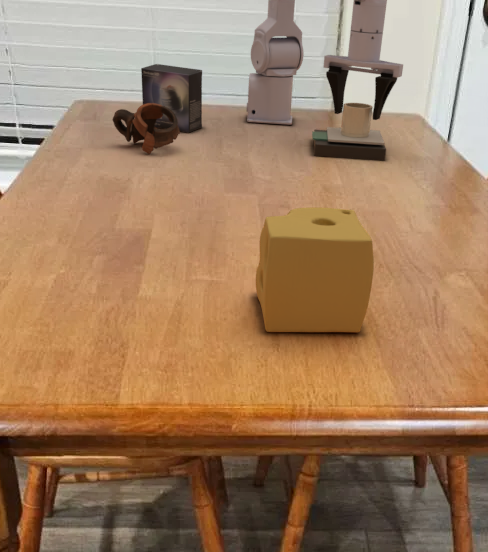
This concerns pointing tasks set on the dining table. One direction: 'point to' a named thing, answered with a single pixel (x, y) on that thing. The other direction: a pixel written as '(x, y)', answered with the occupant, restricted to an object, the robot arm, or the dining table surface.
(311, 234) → the cheese
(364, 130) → the small cup
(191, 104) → the small box
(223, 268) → the dining table surface
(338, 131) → the scale
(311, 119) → the dining table surface
